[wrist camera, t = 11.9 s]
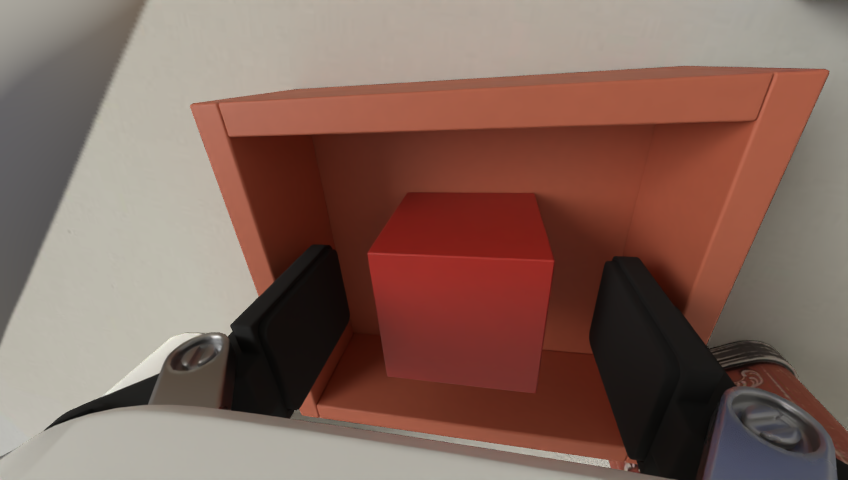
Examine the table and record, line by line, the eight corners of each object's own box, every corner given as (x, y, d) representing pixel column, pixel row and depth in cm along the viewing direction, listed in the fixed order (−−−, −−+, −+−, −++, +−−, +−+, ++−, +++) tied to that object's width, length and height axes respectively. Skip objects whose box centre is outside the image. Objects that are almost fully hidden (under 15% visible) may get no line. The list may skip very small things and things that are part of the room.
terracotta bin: (687, 65, 10) (834, 68, 5) (608, 355, 15) (652, 467, 11) (293, 89, 12) (187, 103, 8) (347, 331, 17) (301, 416, 13)
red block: (534, 192, 11) (555, 260, 7) (524, 297, 13) (536, 394, 10) (406, 191, 12) (366, 252, 8) (415, 290, 14) (386, 377, 10)
